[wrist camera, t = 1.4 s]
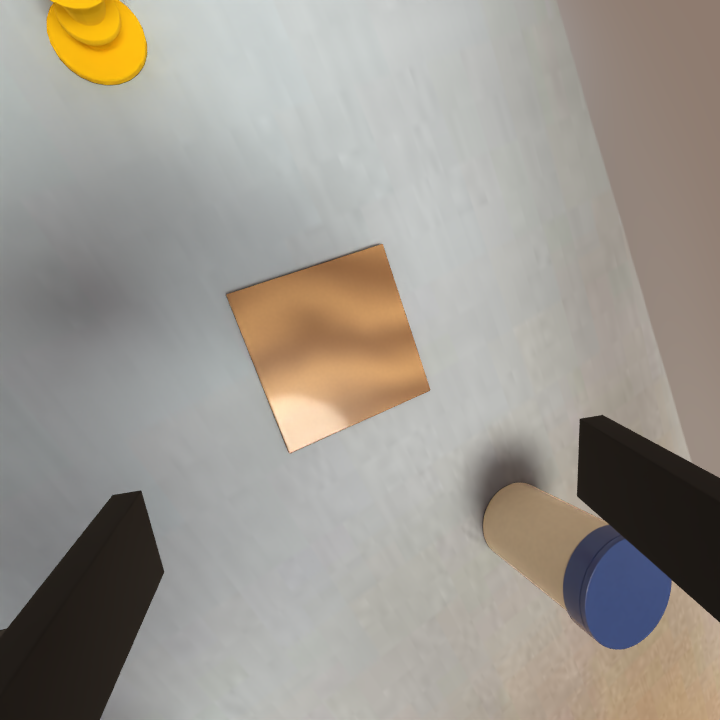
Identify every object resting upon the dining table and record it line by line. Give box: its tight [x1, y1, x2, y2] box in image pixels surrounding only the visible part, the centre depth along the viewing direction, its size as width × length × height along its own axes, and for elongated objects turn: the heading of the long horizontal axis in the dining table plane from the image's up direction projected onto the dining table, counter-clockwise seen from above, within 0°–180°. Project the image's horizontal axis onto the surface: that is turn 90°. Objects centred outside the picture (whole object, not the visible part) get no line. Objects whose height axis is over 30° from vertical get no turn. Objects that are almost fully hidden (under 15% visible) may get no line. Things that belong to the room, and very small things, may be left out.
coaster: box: [226, 244, 430, 453], centre depth 30 cm, size 12×12×1 cm
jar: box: [483, 483, 609, 611], centre depth 32 cm, size 7×7×10 cm
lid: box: [563, 525, 672, 649], centre depth 27 cm, size 7×7×2 cm
